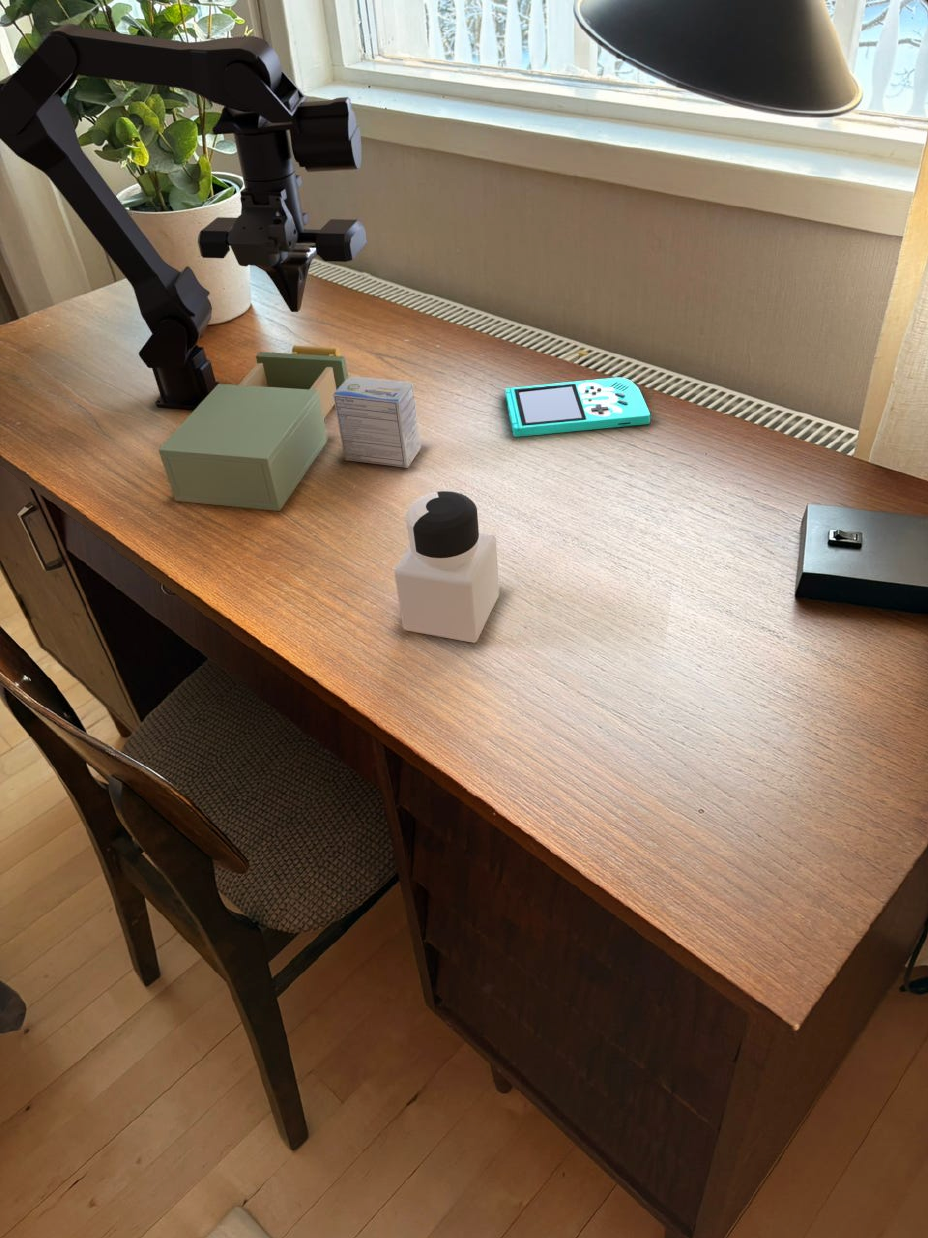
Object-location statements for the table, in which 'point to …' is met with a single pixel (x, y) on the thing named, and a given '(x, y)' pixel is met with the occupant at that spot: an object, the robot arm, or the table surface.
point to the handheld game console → (575, 406)
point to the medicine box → (377, 421)
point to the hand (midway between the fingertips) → (295, 310)
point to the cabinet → (245, 446)
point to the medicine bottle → (447, 569)
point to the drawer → (301, 372)
